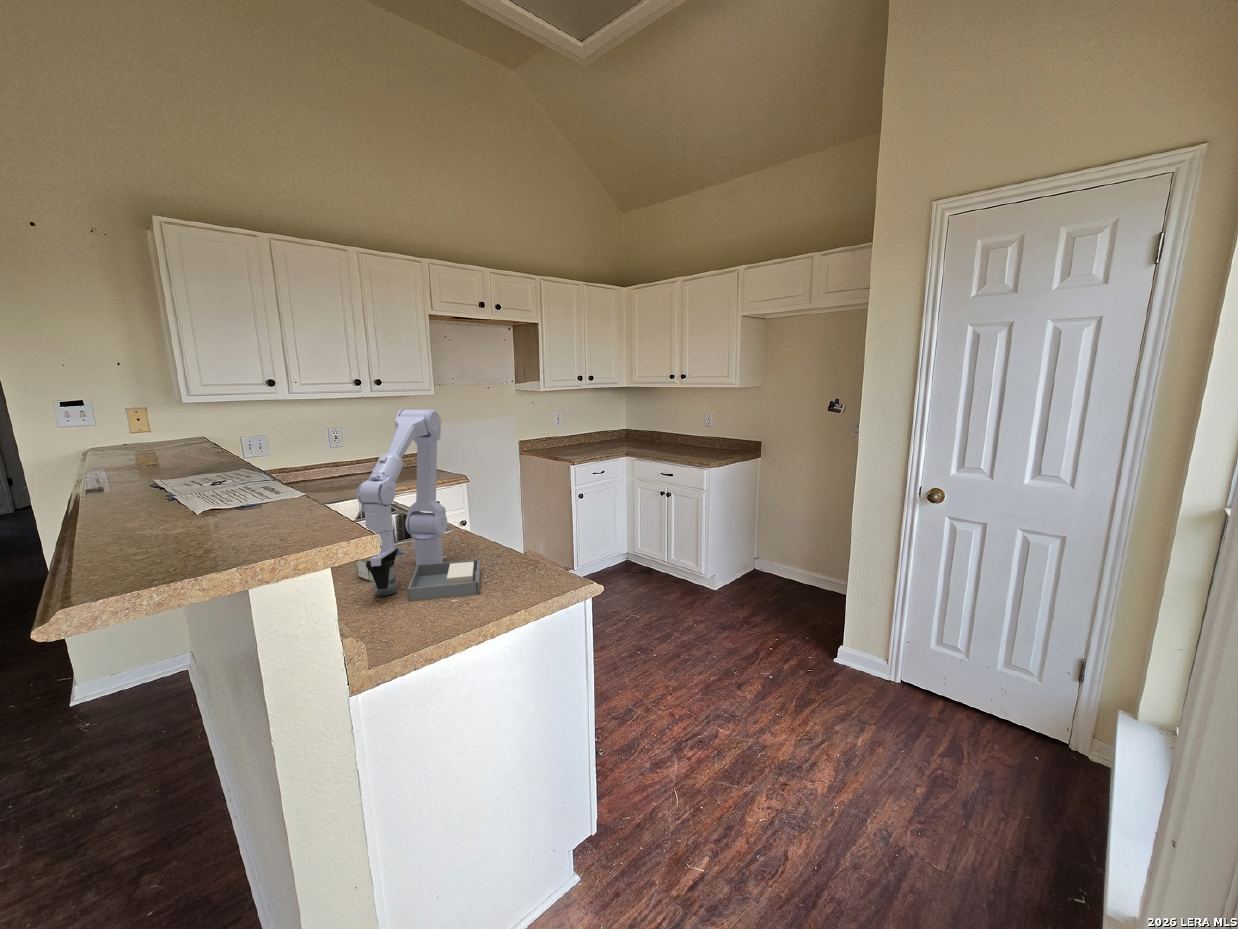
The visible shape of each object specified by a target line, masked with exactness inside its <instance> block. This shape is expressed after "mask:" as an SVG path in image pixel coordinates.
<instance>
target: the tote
mask: <svg viewBox="0 0 1238 929" xmlns="http://www.w3.org/2000/svg"><path fill="white" fill-rule="evenodd" d="M463 562H474V573H475V576H474V582H466V583H456V584H447V575H448V570H449V566H450V564H451V563H463ZM480 580H481V559H480V558H478V559H467V560H456V561H454V560H453V561H445V562H444V561H443V563H431V564H420V565H417V566H416V565H415V568H414V571H413V573H412V576H411V578H410V580H409V583H408V587H407V589H406V590H407V591H406V592H407V601H408V602H415V601H427V600H435V599H444V598H445V599H446V598H455V597H465V596H466V597H467V596H474V595H475V596H476V595H480Z"/></svg>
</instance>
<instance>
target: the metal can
mask: <svg viewBox="0 0 1238 929" xmlns="http://www.w3.org/2000/svg"><path fill="white" fill-rule="evenodd" d="M372 582H373V590H374V591H373V592H374V595H375V596H383V597H384V596H388V595H392V594H395V593H396V592H397V591H398V588H397V587H398V586H397V577H396V566H395V564H394V565H393V564H391V567H390V571H389V583H388V588H387V589H378V588H377V586H376V583H375V581H374V578H373V581H372Z"/></svg>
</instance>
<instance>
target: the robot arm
mask: <svg viewBox="0 0 1238 929" xmlns="http://www.w3.org/2000/svg"><path fill="white" fill-rule="evenodd" d="M441 423H442V421H441V417H440V415H439V413H438V412H437V410H435V409H433V408H430V409H405V408H402V409H399V410H398V412H397V414H396V417H395V419H394V426H395V429H396V430H395V432H394V435H393V438H392V440H391V442H390V444H389V448H388V450H387V452H386V453H384V454H382V455H380V456H379V458H378V460H377V462H376V464H375V466H374V467H373V469H372V471H371V474H370V475H369V477H368V479H367V480H365V481H363V482H362V483H361V484H359V486H358V488H357V494H356V499H357V501H358V502H359V504H360V507H361V510H362V512H363V513H364V520H365V521H364V522H366V528H368V529H370V530H372V531H374V532H375V533H376V534H379V535H380V537H381V540H382V545H381V552H380V554H379V555H377V556H374V557H372V558H371V559H370V560H371V561H367V562H366V567H367V569H368V570H369V571H370V572H371V574H372V576H373V578H374V581H375V583H376V586H377V588H378V589H387V588H388V583H389V571H390V567H391V564H393V565H394V566H395V561H396V557H397V554H398V551H399V548H397V547H396V545H395V536H394V527H393V517H392V516H393V515H392V514H393V513H392V506H391V505H392V503H393V502H394V500H395V497H396V489H397V481H398V478H399V476H400V474H401V472H402V470H403V468H404V463H403V461H402V459H403V457H404V455H405V454H406V453H407V450H408V449H409V447H410V445H411V444H412V442H414V443H415V444H416V446H417V447H416V489H415V490H416V494H415V496H416V498H415V500H416V501H415V502H414V503H413V504H412V505H410V506H409V507H408V508H407V516H406V518H405V521H404V522H405V524H404V525H405V529H406V531H407V533H408V534H409V535H410V536H411V538H413V544H414V558H415V567H416V566H417V565H420V564H431V563H443V562H444V559H446V558H447V556H445V555H443V554H444V553H443V542H442V541H443V540H442V535H444V534H445V532H447V528H448V518H447V514H446V513H447V512H446V507H444V506H443V505H442V504H441V503H439V502H438V501H437V471H438V470H437V468H438V467H437V464H438V461H437V460H438V441H440V439H441V434H442V433H441V432H442V431H441V429H442V428H441V425H442V424H441Z"/></svg>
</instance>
